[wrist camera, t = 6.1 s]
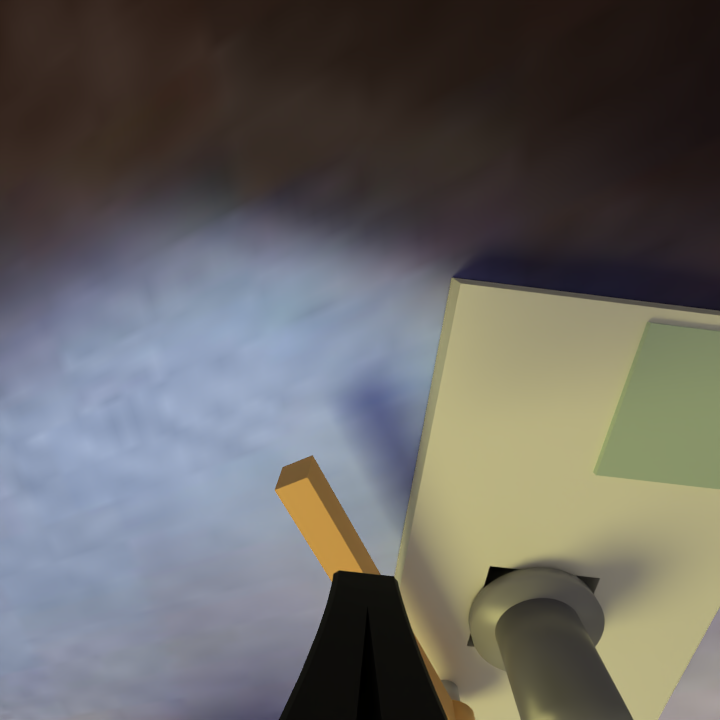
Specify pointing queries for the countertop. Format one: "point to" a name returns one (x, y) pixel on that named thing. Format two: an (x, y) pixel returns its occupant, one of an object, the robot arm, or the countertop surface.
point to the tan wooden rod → (340, 544)
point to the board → (568, 479)
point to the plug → (546, 644)
